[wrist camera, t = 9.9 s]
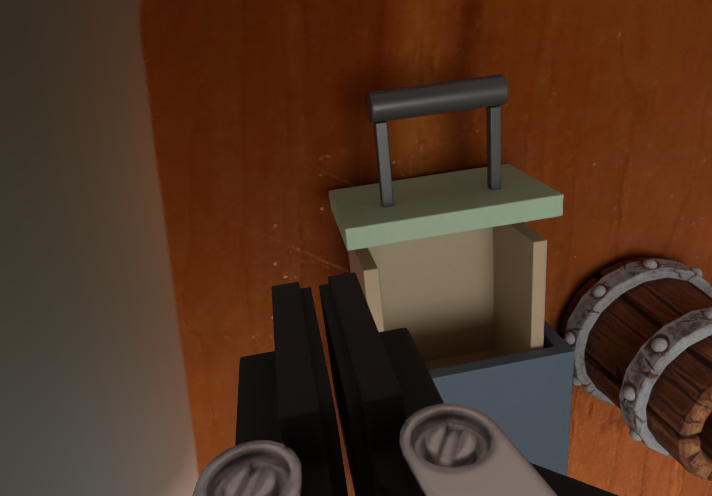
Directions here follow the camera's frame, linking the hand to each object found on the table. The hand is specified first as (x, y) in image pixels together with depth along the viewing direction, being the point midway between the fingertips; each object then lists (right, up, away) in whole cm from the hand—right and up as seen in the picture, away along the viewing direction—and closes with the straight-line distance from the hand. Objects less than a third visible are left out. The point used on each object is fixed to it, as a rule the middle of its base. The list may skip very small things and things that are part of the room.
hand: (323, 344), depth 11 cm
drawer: (+5, +3, +24) cm, 25 cm away
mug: (+22, -3, +31) cm, 38 cm away
